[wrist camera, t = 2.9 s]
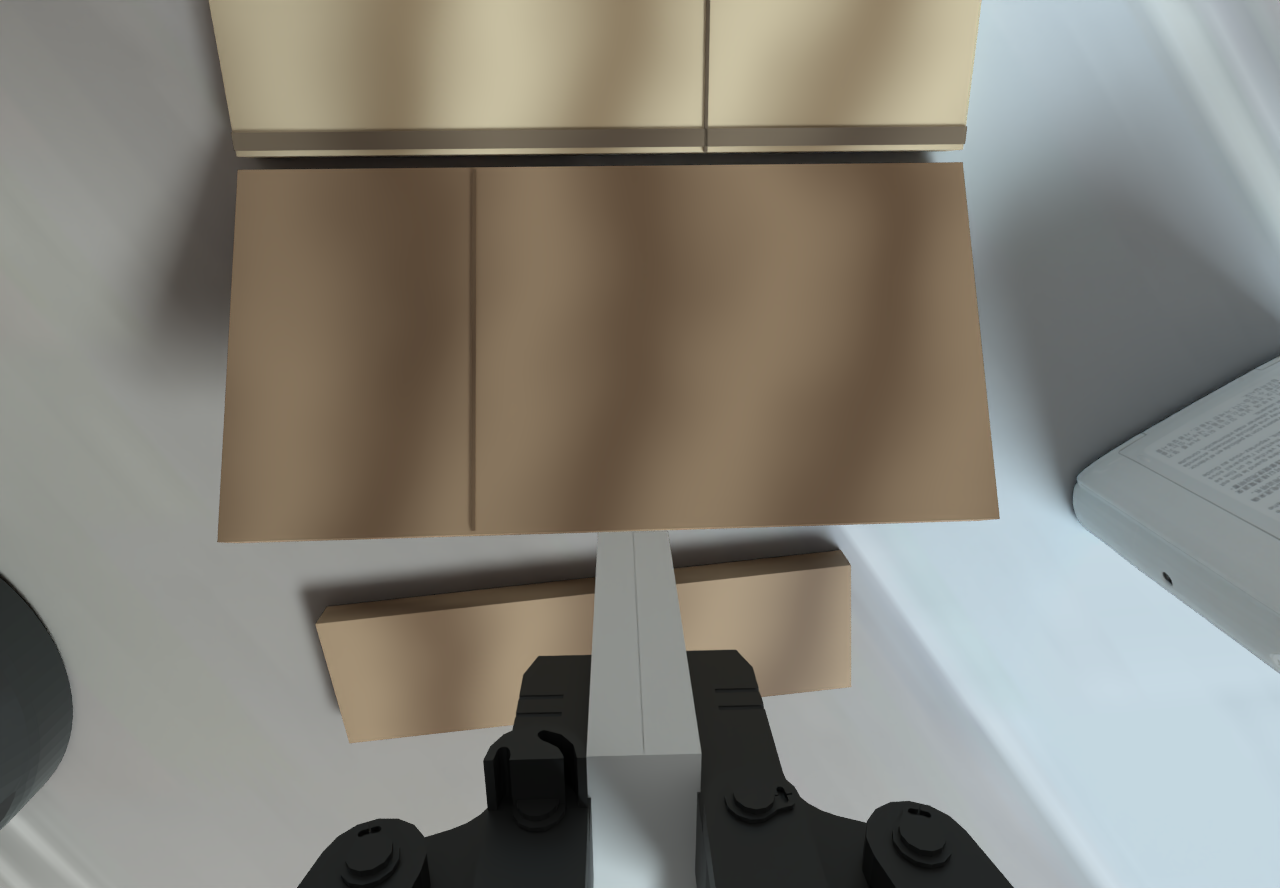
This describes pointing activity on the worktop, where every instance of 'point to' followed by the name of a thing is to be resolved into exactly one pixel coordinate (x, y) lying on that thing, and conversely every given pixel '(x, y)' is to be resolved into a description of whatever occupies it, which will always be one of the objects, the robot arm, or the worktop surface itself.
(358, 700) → the plank
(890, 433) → the plank
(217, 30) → the light wood flat board
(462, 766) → the worktop surface
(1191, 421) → the photo printer
